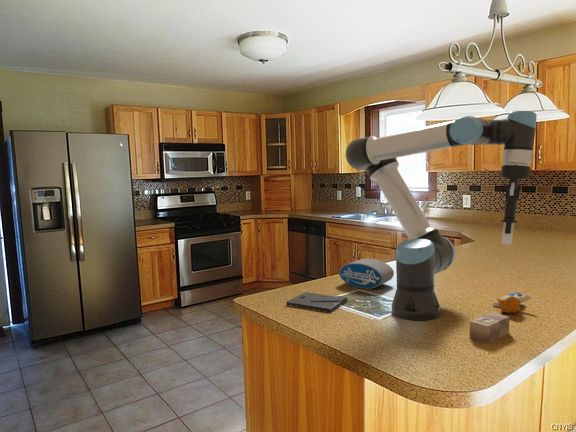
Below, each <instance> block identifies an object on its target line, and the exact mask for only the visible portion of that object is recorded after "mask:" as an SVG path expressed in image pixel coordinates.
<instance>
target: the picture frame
mask: <svg viewBox="0 0 576 432" xmlns="http://www.w3.org/2000/svg"><path fill="white" fill-rule="evenodd" d="M345 302H346V303H347V302H348V297H347V296H341V295H335V296H334V295H330V294H321V293H314V292H308V291H307V292H306V291H304V292H302V293H300V294H299V295H297V296H295V297H293V298H291V299H289V300H288V301H286V306H287V305H292V306H291V307H293V306H298V307H297V308H299V307H303V308H302V309H305V308H309V309H308V310H311V309H315V310H314V311H317V310H320V311H319V312H323V311H326V312H325V313H329V312H331V313H333V312H334V311H336V310H337V309H339V308H340V307H341V306H340V305H342V304H343V305H344V303H345ZM346 303H345V304H346ZM343 305H342V306H343ZM339 306H340V307H339ZM338 307H339V308H338ZM336 308H337V309H336ZM335 309H336V310H335ZM333 310H334V311H333ZM332 311H333V312H332Z"/></svg>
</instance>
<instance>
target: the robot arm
mask: <svg viewBox="0 0 576 432" xmlns="http://www.w3.org/2000/svg"><path fill="white" fill-rule="evenodd" d="M537 116H538V115H537V114H536V112H534V111H531V110H514V111H510V112H508V114H507V117H506V118H504V119H503V118H502V119H485V118H478V117H475V116H471V115H467V116H460V117H458V118H456V119H455V120H452V121H447V122H442V123H437V124H433V125H428V126H425V127H420V128H415V129H411V130H407V131H402V132H398V133H394V134H389V135H384V136H381V137H377V136H375V135H371V136H367V137H358V138H354V139H353V140H351V142H349V144H347V147H346V149H345V159H346V161H347V163H348V165H349V166H350V167H351V168H352V169H355V170H356V171H365V172H366V174H367V175H368V178H369V179H370V180H371V181H375V182H376V183H377V185H378V186H379V188H380V191H381V192H382V193H383V196H384V197H385V198H386V201H387V203H388V204H389V206H390V208H391V209H392V211H393V213H394V215H395V217H396V218H397V221H398V222H399V224H400V226H401V227H402V229H403V231H404V233H405V234H406V236H407V238H408V239H404V240H401V242H398V244H397V245H396V252H395V262H396V263H395V264H396V265H395V266H396V268H395V269H396V270H395V271H396V272H395V273H396V290H395V294H394V297H393V299H392V302H391V312H392V314H393V315H394V316H396V317H398V318H400V319H405V320H412V321H428V320H433V319H436V318H438V317H440V315H441V306H440V303H439V300H438V297H437V295H436V291H435V275H436V274H439V273H441V272H443V271H445V270H447V269H448V268H449V267H450V266H451V265H452V264H453V263H454V260H455V257H456V249H455V247H454V244H453V243H452V241H450V239H448V238H447V237H444V236H443V235H442V234H441V233H440V230H439V229H438V228H437V227H434V226H431V225H430V222H429V221H428V219H427V218H426V216H425V214H424V213H423V211H422V209H421V207H420V206H419V203H418V202H417V201H416V198H415V197H414V195H413V194H412V192H411V190H410V188H409V187H408V185H407V183H406V182H405V180H404V178H403V176H402V175H401V173H400V172H399V170H398V169H399V165H400V163H399V161H398V160H397V158H400V157H406V156H411V155H417V154H422V153H428V152H433V151H438V150H443V149H448V148H453V147H454V148H455V147H461V146H467V145H470V146H471V145H472V146H481V145H483V146H487V145H491V146H493V145H494V146H495V145H499V146H500V145H501V146H502V145H503V146H504V147H503V150H502V151H503V152H502V158H501V159H502V160H501V161H502V162H501V163H502V164H503V165H502V166H501V169H500V170H501V171H500V177H501V178H502V179H509V180H508V184H507V183H506V184H505V187H504V188H505V197H504V198H505V209H504V217H503V219H501V221H500V222H501V223H503V224H502V225H503V226H502V235H501V243H500V244H501V245H508V246H509V245H510V246H512V244H513V237H514V229H515V228H514V227H515V224H517V223H518V220H516V212H517V204H518V200H519V199H520V192H521V191H522V185H520V184H519V183H520V180H529V179H530V177H531V176H530V175H531V166H529V165H532V160H533V159H532V158H535V154H534V153H533V151H534V143H535V138H536V132H537Z"/></svg>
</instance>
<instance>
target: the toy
mask: <svg viewBox="0 0 576 432" xmlns="http://www.w3.org/2000/svg"><path fill="white" fill-rule="evenodd" d="M495 299H496V300H497V301H493V303H492V306H493V307H494V308H496V307H497V308H499V309H500V311H501V312H503V313H506V314H515V313H517V311H519V312H520V313H521V312H522V311H521V307H520V305H521V303H525V302H527V301H531V300H532V296H530V295H529V294H526V295H522V292H521V291H517V292H515V293H514V292H512V293H507V294H506V295H504V296H503V295H502V297H501V298H497V297H496V298H495Z"/></svg>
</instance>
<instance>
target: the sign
mask: <svg viewBox="0 0 576 432" xmlns="http://www.w3.org/2000/svg"><path fill="white" fill-rule="evenodd" d="M338 275H339V277H340V279H341V280H342V281H343V282H344V283H346V284H348V285H350V286H352V287H353V288H354V287H355V288H358V287H359V288H360V289H364V288H365V289H375V288H378V287H380V286H382V285H383V284H385V283H387V282H389V281H391V280H392V279H393V278H394V276H395V270H394V269H393V268H392V267H391V265H389V264H388V263H386V262H385V261H381V260H380V259H375V258H360V259H358V260H355V261H353V262H350V263H347V264H345V265H343V266H342V267H340V268H339V272H338ZM359 288H358V289H359ZM365 289H364V290H365Z"/></svg>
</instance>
